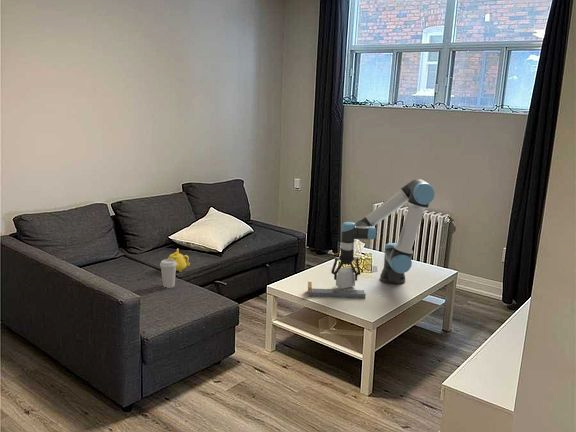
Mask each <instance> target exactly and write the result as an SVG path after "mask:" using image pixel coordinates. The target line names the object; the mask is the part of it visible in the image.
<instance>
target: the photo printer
mask: <svg viewBox="0 0 576 432" xmlns="http://www.w3.org/2000/svg"><path fill="white" fill-rule="evenodd" d="M337 274H338V281H337V286H336V287H337V289H342V290H344V289H348V288H351V287H354V286H353V280H354V274H355V273H354V271H353V269H352V267H351V266H342V267H341V268H340V269H339V270H338V273H337Z"/></svg>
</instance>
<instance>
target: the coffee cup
mask: <svg viewBox="0 0 576 432" xmlns="http://www.w3.org/2000/svg"><path fill="white" fill-rule="evenodd" d="M176 265H177V263H176V261H175V260H173V259H168V258H167V259H166V258H165V259H163V260H161V262H160V263H159V266H160V270H161V279H162V287H163V286H164V287H163V288H165V287H167V288H166V289H173V288H174V287H175V286H176V285H175V284H176V283H175V282H176V273H177V272H176Z"/></svg>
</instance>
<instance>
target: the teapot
mask: <svg viewBox="0 0 576 432" xmlns="http://www.w3.org/2000/svg"><path fill="white" fill-rule="evenodd" d="M179 249H180V248H176V251H175V252H173V253H171V254H170V255H169V256H168V257H167V259H173V260H175V261H176V263H177V265H176V271H178V272H179V273H183V272H182V271H183V270H185V269H186V268H187V267H189V266H191V263H190V262H189V259H190V258H189V255H187V254H185V255H183V254H182V253H180V252H179Z"/></svg>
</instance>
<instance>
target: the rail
mask: <svg viewBox="0 0 576 432" xmlns="http://www.w3.org/2000/svg"><path fill="white" fill-rule="evenodd" d="M312 283H313V282H312V281H307V297H308V298H309V297H311V298H332V299H333V298H335V299H336V298H337V299H363V300H364V299H366V296H367V295H366V292H365V290H364V289H339V288H337V289H335V288H313V284H312Z"/></svg>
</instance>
